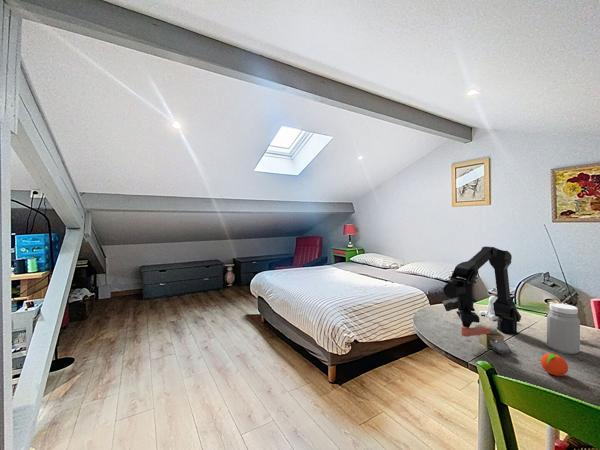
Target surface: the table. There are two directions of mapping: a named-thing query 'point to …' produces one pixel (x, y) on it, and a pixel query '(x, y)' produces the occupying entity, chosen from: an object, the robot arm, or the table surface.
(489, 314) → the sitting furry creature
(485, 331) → the lever
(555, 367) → the clementine
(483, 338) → the pipe valve
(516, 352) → the table surface
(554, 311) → the jar
